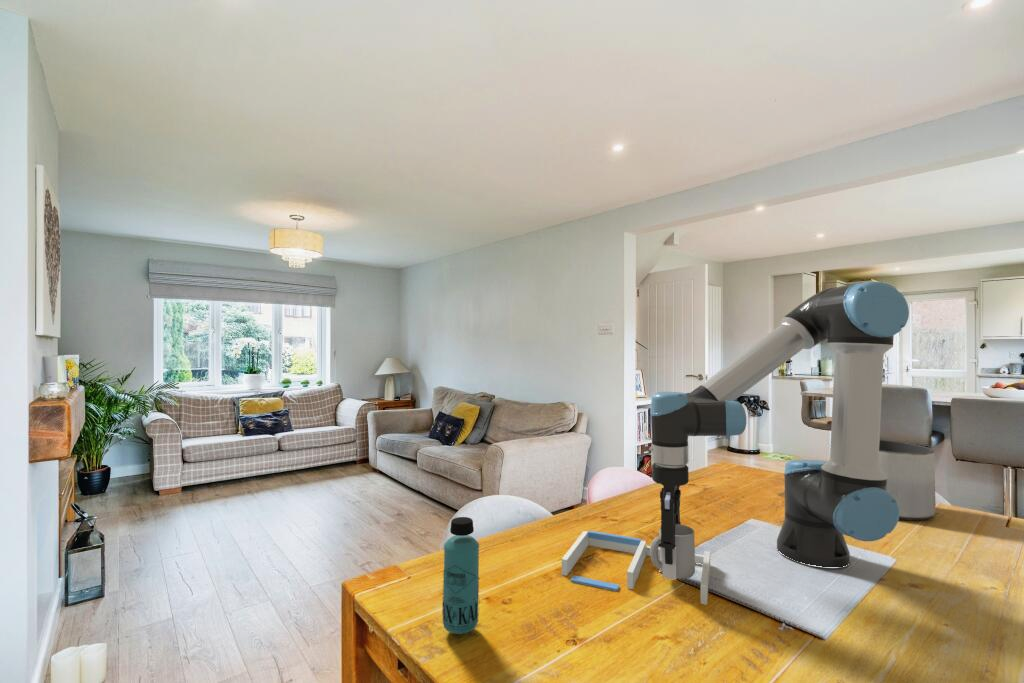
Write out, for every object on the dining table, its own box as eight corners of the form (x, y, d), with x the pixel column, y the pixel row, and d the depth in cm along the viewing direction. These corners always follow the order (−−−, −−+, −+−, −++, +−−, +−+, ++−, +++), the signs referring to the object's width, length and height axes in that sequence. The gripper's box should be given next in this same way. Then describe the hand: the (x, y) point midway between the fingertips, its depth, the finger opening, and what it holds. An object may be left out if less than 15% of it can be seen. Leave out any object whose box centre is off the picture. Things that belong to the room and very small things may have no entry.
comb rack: (710, 564, 113) (710, 549, 113) (706, 610, 93) (706, 592, 93) (584, 542, 125) (584, 529, 125) (558, 579, 106) (558, 563, 106)
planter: (928, 506, 155) (927, 443, 156) (943, 528, 136) (942, 456, 137) (842, 494, 168) (842, 436, 168) (845, 513, 149) (845, 447, 149)
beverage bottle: (443, 622, 89) (443, 513, 89) (479, 621, 90) (479, 512, 90) (440, 644, 82) (441, 526, 83) (480, 642, 83) (480, 525, 83)
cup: (702, 576, 102) (701, 533, 102) (660, 583, 100) (659, 539, 100) (682, 561, 109) (681, 522, 109) (642, 567, 107) (641, 527, 107)
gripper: (658, 452, 116) (659, 548, 116) (644, 473, 97) (646, 587, 97) (691, 455, 113) (693, 553, 113) (684, 477, 94) (686, 595, 94)
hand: (671, 569), depth 105 cm, fingers closed on cup, 8 cm apart
